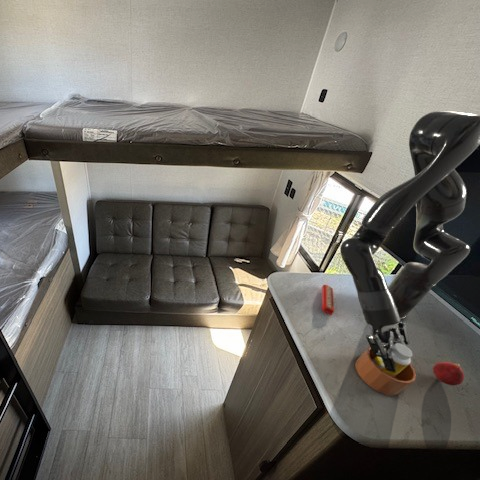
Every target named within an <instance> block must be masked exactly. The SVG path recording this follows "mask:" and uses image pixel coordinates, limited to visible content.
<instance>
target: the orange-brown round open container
mask: <svg viewBox="0 0 480 480" xmlns="http://www.w3.org/2000/svg"><path fill="white" fill-rule="evenodd" d="M377 351H378V350H377ZM375 357H376V356H374V354H373V352H372V349H371V347H370V345H369V346H368V347H367V348H366V350H364V352H363V353H362V354H360V356H359V357H358V358H357V360H355V364H354V365H355V370H356V373H357V374H358V376H359V377H360V378H361V380H362V381H363V382H364V383H365V384H366V385H368V386H369V387H370V388H372V389H374V391H376V392H378V393H380V394H383V395H386V396H396V395H398V394H400V393H401V392H402V391H404V390H405V389H406V388H408V387H409V386H410V385H411V384H412V383H414V382H415V380H416V379H417V375H416V370H415V369H414V367H413V365H412V364H411V363H410V364H409V365H408V366H407V367H405V368H404V369H403V370H402V371H401V372H400V373H398V374H397V375H396V376H395V377H394V378H392V377H390V376H389V375H387V374H385V373H384V372H383V371H381V370H380V369H379V368H378V367H377V366H376V365H375V364H374V362H373V359H374V358H375Z"/></svg>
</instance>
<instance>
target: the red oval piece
mask: <svg viewBox="0 0 480 480" xmlns="http://www.w3.org/2000/svg"><path fill="white" fill-rule="evenodd" d="M432 371H433V372H432V373H433V375H434V377H435V378H436V380H438V381H439V382H441V383H443V384H446V385H448V386H459V385H461V384H462V383H463V382H464V380H465V372H464V371H463V369H462V368H461V365H460V364H459V362H458V363H453V362H449V361H440V362H437V363H435V364H434V366H433V367H432Z"/></svg>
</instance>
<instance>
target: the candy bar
mask: <svg viewBox="0 0 480 480" xmlns="http://www.w3.org/2000/svg"><path fill="white" fill-rule="evenodd" d="M334 303H335V302H334V289H333V287H331V286H329V285H327V284H322V287H321V310H322V311H323V312H325V314H328V315H330V316H333V313H334V312H335V304H334Z"/></svg>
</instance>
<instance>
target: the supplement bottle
mask: <svg viewBox="0 0 480 480" xmlns="http://www.w3.org/2000/svg"><path fill="white" fill-rule="evenodd" d="M406 346H407V345H406ZM406 346H405V345H403V344H400V343H395V344H394V345H393V349H392V350H391V352H392V358H393V361H394V364H395V366H396V369H397V371H396V372H391V371H387V370H386V368H385V366H384V363H383V360H382V358H381V357H377V356H376V357H375V358H374V359H373V362H374V364H375V365H376V366H377V367H378V368H379V369H380V370H381V371H383V372H384V373H385V374H387V375H389V376H390V377H392V378H394V377H395V376H396V375H397V374H398V373H400V372H401V371H402V370H403V369H404V368H405V367H407V366H408V365H409V364H411V362H412V359H411V357H413V351H412V350H411V349H410V348H409V347H408V346H407V347H406ZM384 350H385V352H386V353H387V351H386V348H384Z"/></svg>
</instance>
